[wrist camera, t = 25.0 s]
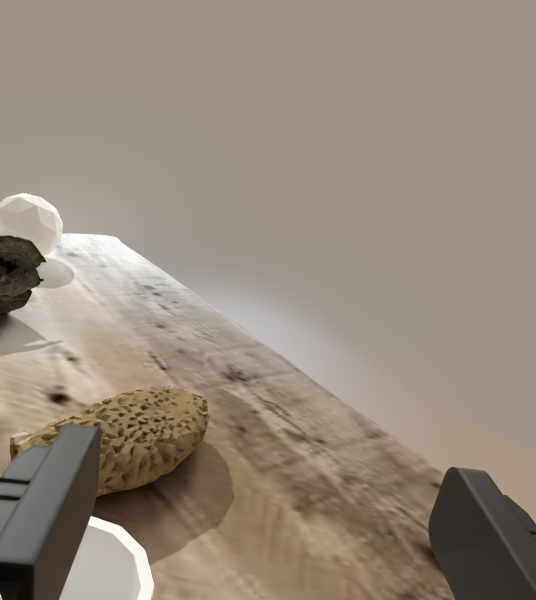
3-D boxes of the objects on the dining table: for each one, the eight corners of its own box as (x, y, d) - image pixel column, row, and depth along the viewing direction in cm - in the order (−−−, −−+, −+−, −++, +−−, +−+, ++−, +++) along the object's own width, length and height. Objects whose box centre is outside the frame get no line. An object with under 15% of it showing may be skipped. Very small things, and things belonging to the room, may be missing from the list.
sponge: (26, 554, 39) (246, 463, 48) (1, 470, 37) (236, 392, 46) (20, 475, 51) (199, 413, 59) (1, 407, 49) (189, 353, 57)
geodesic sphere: (-27, 218, 107) (-14, 172, 98) (39, 218, 117) (57, 176, 108) (-6, 274, 102) (9, 231, 94) (61, 268, 113) (81, 229, 104)
